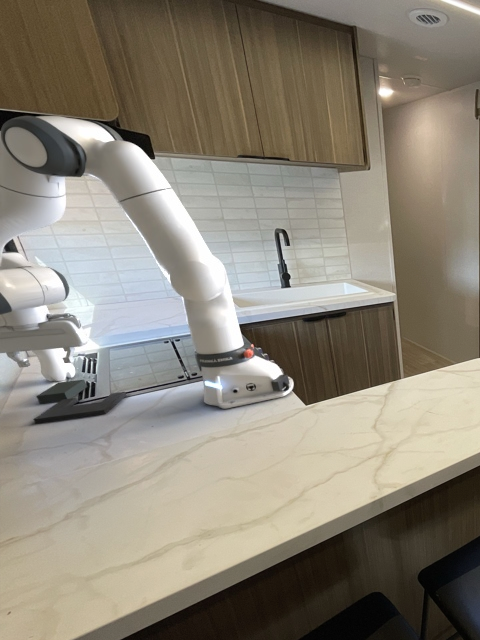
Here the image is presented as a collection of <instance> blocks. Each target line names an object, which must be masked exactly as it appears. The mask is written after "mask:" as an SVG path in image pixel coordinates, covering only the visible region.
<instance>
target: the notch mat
mask: <svg viewBox="0 0 480 640" xmlns="http://www.w3.org/2000/svg"><path fill="white" fill-rule="evenodd" d="M125 397H127V392H126V391H119V392H112V393H110V394H108V396H107V397H105V398H104V399H103V400H102V401H99V402H92V403H84V404H77V403H78V402H79V401H78V398H77V397H72V398H71V399H63V400H61V401H59V402H55V404H53V405H51V406H50V407H49V408H48V409H46V410H44V412H41V413H40V414H39V415H38V416H36V417H35V418H34V419H33V422H34V423H35V424H42V423H49V422H56V421H64V420H71V419H78V418H85V417H92V416H100V415H106V414H107V413H109V412H110V411H111V410H112V409H113V408H114V407H115V406H116V405H118V404H119V403H120V402H121V401H122V400H123V399H125ZM76 404H77V405H76Z"/></svg>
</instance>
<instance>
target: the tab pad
mask: <svg viewBox="0 0 480 640" xmlns="http://www.w3.org/2000/svg"><path fill="white" fill-rule="evenodd" d="M87 387H88V385H87V382H86V380H85V379H77V380H76V379H75V380H69V381H68V380H67V381H57V383H55V384H53V385H52V386H50V387H49V388H47V389H45V390H43V391H42V392H40V393H39V394H38V395H37V394H36V398H37V400H38V403H39V405H43V404H49V403H58V402H59V401H61V400H63V399H71V398H75V396H76V395H78V394H79V393H80V392H82V391H84V390H85V389H87Z"/></svg>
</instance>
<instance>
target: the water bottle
mask: <svg viewBox="0 0 480 640" xmlns="http://www.w3.org/2000/svg"><path fill="white" fill-rule="evenodd" d="M31 352H32V354H34V355H35V356H36V358H37V360H38V361H39V365H40V373H41V375H42V376H43V378H44V379H46V381H48V382H54V381H56V382H64V381H65V380H66V379H67V378H69V379H72V378H74V377H75V375H76V368H75V365H74V364H73V363H64V360H63V359H62V358H63V357H65V356H66V354H67V353H66V352H65V351H64V349H63V348H57V349H45V350H33V351H31Z"/></svg>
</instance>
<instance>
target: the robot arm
mask: <svg viewBox="0 0 480 640" xmlns="http://www.w3.org/2000/svg"><path fill="white" fill-rule="evenodd" d="M83 176H84V177H85V176H86V177H87V176H90V177H94V178H96V179H97V180H98V181H100V182H101V183H102V184H103V185H104V186H105V187H106V189H107V190H108V191H109V192H110V194H111V195H112V197H113V198H114V200H115V201H116V203H117V204H118V206H119V207H120V208H121V210H122V211H123V213H124V214H125V215H126V217H127V218H128V219H129V221H130V223H131V224H132V226H133V227H134V229H136V231H137V232H138V234H139V235H140V236H141V238H142V239H143V241H144V243H145V245H146V246H147V248H148V250H149V252H150V254H151V255H152V257H153V259H154V260H155V263H156V264H157V266H158V267H159V268H160V270H161V272H162V273H163V275H164V277H165V278H166V280H167V282H168V283H169V284H170V287H171V288H172V289H173V290H174V292H175V293H176V294H177V295H178V296H180V297H181V301H182V304H183V310H184V314H185V319H186V325H187V328H188V330H189V331H188V332H189V335H190V338H191V340H192V344H193V347H194V357H195V362H196V365H197V368H198V369H199V372H201V377H202V382H203V394H204V395H203V402H204V403H205V404H207V405H209V406H214V407H219V408H221V409H223V410H225V409H226V410H227V409H230V408H234V407H235V408H236V407H240V406H245V405H249V404H255V403H259V402H264V401H268V400H274V399H278V398H279V399H280V398H282V397H285V396H287V395H289V394H290V393H291V392H292V391H293V389H294V380H293V378H292V377H290V376H288V374H283V372H282V370H281V368H280V366H278V364H276V363H275V362H272V361H269V360H267V359H265V358H262V357H260V356H258V355H256V352H255V347H254V344H253V343H252V344H251V345H250V344H247V343H245V342H244V339H243V335H242V332H241V328H240V324H239V320H238V316H237V312H236V307H235V303H234V299H233V295H232V290H231V285H230V281H229V278H228V273H227V270H226V267H225V266H224V263H223V262H222V261H221V260H220V259H219V258H218V257H216V256H215V255H214V254H212V252H211V250H210V248H209V247H208V245H207V243H206V242H205V239H204V238H203V236H202V235H201V233H200V231H199V229H198V227H197V226H196V224H195V221H194V220H193V219H192V216H190V214H189V212H188V211H187V209H186V208H185V206H184V205H183V202H182V201H181V200H180V198H179V196H178V195H177V194H176V192H175V191H174V189H173V188H172V186H171V184H170V183H169V181H168V179H167V178H166V177H165V175H163V173H162V172H161V171H160V169H159V167H158V166H157V165H156V164H155V163H154V162H153V160H152V159H151V158H150V157H149V156H148V154H147V153H146V152H145V151H144V149H142V148H141V147H139V146H138V145H136V144H135V143H132V142H130V141H126V140H124V139H123V138H122V137H121V135H120V134H119V133H118V132H117V131H115V130H114V129H113V128H111V127H110V126H108V125H106V124H104V123H102V122H99V121H95V120H92V119H87V118H83V119H79V118H74V117H73V118H72V117H66V116H61V115H39V116H34V115H23V116H16V117H14V118H11V119H8V120H7V121H5V122H4V123H3V124H2V126H1V129H0V354H6V356H7V358H9V359H11V360H12V361H14V362H15V363H16V364H17V366H18V368H20V369H21V368H29V367H30V366H31V363H30V361H29V359H27V358H25V359H24V358H23V357H21V355H20V352H32V351H33V350H45V349H57V348H63V349H64V351H65V354H66V356H65V357H63V358H62V359H63V360H64V363H71V364H73V363H74V362H75V359H74V353H75V350H76V348H79V347H84V346H85V345H86V344H88V342H89V337H88V336H87V335H88V334H87V333H86V332H85V329H84V328H83V327H82V323H81V321H80V318H79V317H78V316H76V315H74V314H71V313H69V312H63V313H51V312H50V310H49V308H48V306H49V305H55V304H58V303H61V302H65V301H66V299H67V298H68V296H69V294H70V286H69V283H68V280H67V279H66V277H65V276H64V275H63V274H62V273H61V272H59V271H58V270H56V269H54V268H52V267H49V266H43V265H40V264H37V263H33V262H31V261H29V260H27V259H26V257H24V255H23V254H21V253H20V252H16V251H4V248H5V246H6V245H7V244H8V243H9V242H10V241H11V240H13V239H14V238H17V237H19V236H21V235H24V234H26V233H29V232H32V231H35V230H40V229H44V228H47V227H50V226H51V225H54V224H55V223H57V222H59V221H60V220H61V219H62V218H63V216H64V214H65V212H66V208H67V196H66V195H67V189H66V178H82V177H83Z"/></svg>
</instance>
